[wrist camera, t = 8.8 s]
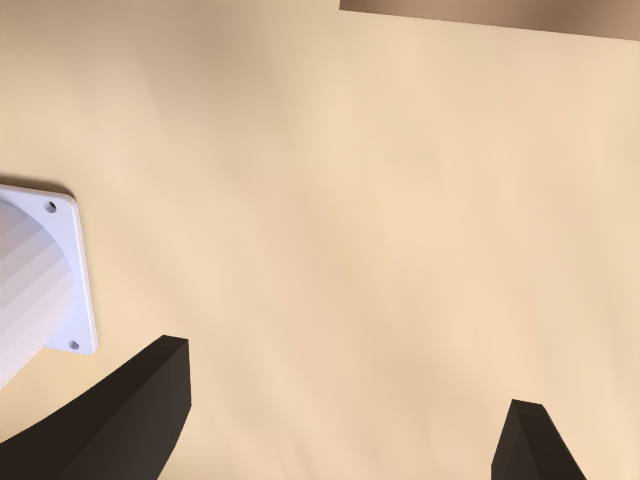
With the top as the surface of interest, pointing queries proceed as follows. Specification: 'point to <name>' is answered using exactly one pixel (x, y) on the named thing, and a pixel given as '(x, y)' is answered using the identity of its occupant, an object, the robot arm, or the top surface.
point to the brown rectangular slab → (520, 14)
